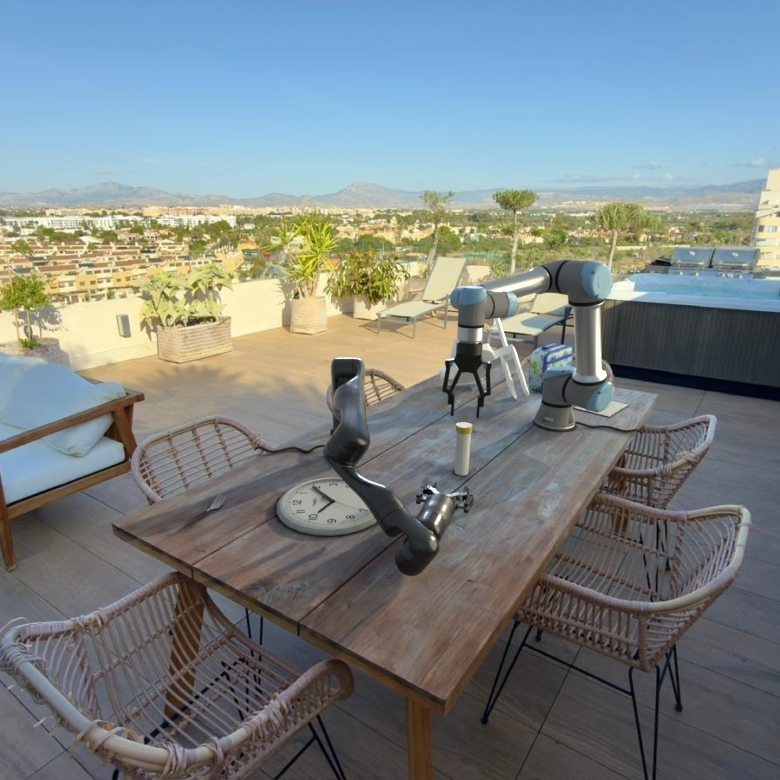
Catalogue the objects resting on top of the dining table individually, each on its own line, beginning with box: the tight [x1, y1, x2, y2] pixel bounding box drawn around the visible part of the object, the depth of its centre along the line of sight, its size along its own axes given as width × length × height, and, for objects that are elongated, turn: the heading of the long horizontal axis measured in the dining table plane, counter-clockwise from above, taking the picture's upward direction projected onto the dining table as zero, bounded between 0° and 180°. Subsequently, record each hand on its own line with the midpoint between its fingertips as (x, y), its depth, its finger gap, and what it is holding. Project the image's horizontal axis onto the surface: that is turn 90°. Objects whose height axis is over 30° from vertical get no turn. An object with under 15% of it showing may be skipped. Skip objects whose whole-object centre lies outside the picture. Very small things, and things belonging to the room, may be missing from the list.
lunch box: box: [528, 343, 574, 392], centre depth 249 cm, size 26×11×21 cm, turn 134°
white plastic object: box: [438, 318, 531, 400], centre depth 245 cm, size 37×45×31 cm
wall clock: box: [276, 476, 378, 537], centre depth 142 cm, size 30×2×30 cm
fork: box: [182, 493, 227, 529], centre depth 136 cm, size 3×16×2 cm, turn 160°
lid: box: [455, 421, 474, 434], centre depth 159 cm, size 5×5×2 cm
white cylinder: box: [454, 432, 472, 477], centre depth 161 cm, size 4×4×16 cm
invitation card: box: [573, 400, 629, 418], centre depth 226 cm, size 21×1×15 cm
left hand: (450, 486), depth 141 cm, fingers open, 8 cm apart
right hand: (464, 415), depth 158 cm, fingers open, 7 cm apart
